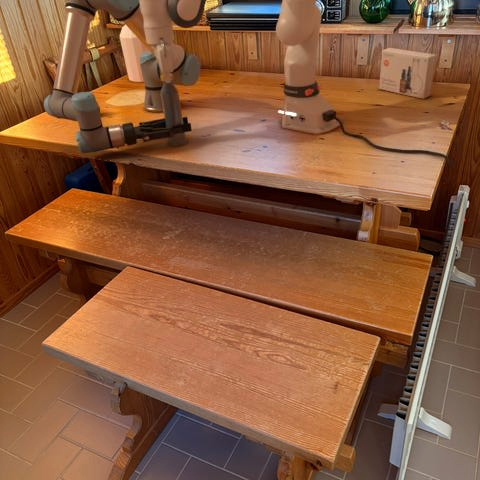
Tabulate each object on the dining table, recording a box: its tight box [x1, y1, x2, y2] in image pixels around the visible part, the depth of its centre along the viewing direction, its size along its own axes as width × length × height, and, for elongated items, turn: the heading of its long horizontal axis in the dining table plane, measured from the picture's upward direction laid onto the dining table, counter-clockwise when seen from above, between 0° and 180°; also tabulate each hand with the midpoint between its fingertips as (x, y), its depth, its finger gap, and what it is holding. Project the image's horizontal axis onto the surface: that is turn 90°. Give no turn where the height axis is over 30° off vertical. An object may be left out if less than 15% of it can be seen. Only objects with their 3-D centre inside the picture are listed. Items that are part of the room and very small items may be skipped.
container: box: [119, 23, 149, 83], centre depth 235 cm, size 21×21×28 cm
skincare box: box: [378, 47, 437, 100], centre depth 184 cm, size 21×6×16 cm, turn 40°
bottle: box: [160, 80, 187, 147], centre depth 159 cm, size 6×6×23 cm
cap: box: [160, 73, 173, 81], centre depth 153 cm, size 4×4×2 cm
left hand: (189, 123), depth 163 cm, fingers closed on bottle, 6 cm apart
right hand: (167, 80), depth 153 cm, fingers closed on cap, 4 cm apart
